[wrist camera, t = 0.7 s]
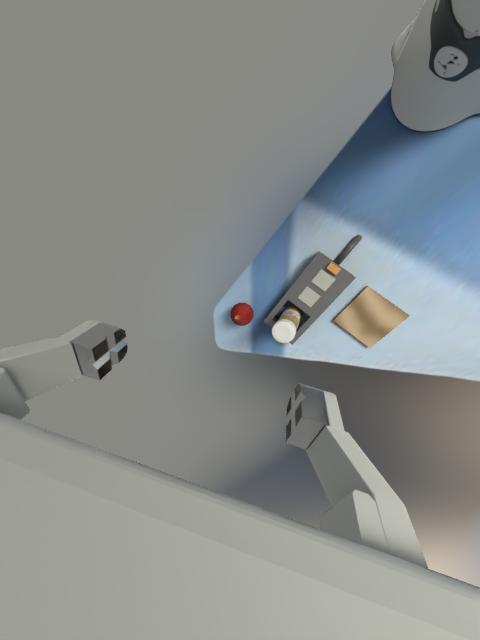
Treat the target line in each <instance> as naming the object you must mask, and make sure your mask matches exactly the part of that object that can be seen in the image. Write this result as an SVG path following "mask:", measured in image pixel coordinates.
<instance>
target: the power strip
mask: <svg viewBox="0 0 480 640" xmlns="http://www.w3.org/2000/svg"><path fill="white" fill-rule="evenodd" d="M361 239H362V237H361V235H357V236H356V237H355V238H354V239H353V240H352V241H351V243H350V244H349V245H348V246H347V247H346V249H345V250H344V251H343V252H342V253H341V254H340V256H339V257H338V258H337V259H336V260H335V261H334V262H333V261H332V260H331V259H329V258H328V257H326V256H325V255H324V254H322V253H321V252H318V253H317V254H316V256H315V257H314V258H313V259H312V261H311V262H310V263H309V265H308V266H307V267H306V268H305V270H304V271H303V272H302V273H301V275H300V276H299V277H298V278H297V280H296V281H295V282H294V284H293V285H292V286H291V287H290V289H289V290H288V291H287V292H286V294H285V295H284V296H283V298H282V299H281V300H280V301H279V303H278V304H277V305H276V306H275V308H274V309H273V310H272V311H271V313H270V314H269V315H268V317H267V318H266V319H265V320H264V323H266V324H267V325H268V326H270V327H271V328H273V326H274V324H275V323H276V322H277V321H278V320H279V319H278V318H277V317H276V316H275V315H276V314H277V313H278V311H279V310H280V309H281V308H282V306H283V305H284V304H285V303H286V302H287V300H289V301H291V302H292V303H293V304H295V305H296V306H297V307H298V308H300V309H301V310H302V311H304V312H305V313H306V314H308V315H309V316H308V317H307V318H306V319H305V320H304V322H303V323H302V324H301V325H300V326H299V327H298V328H297V330H296V334H295V337H294V338H293V340H292V341H290V343H291V344H293V343H294V342H295V341H296V340H297V339H298V338H299V337H300V336H301V335H302V334H303V333H304V332H305V331H306V330H307V329H308V328H309V327H310V325H311V324H312V323H313V322H314V321H315V320H316V319H317V318H318V317H319V316H320V315H321V314H322V313H323V312H324V311H325V310H326V309H327V307H328V306H329V305H330V304H331V303H332V302H333V301H334V300H335V299H336V298H337V297H338V296H339V295H340V294H341V293H342V292H343V291H344V290H345V288H346V287H347V286H348V285H349V284H350V283H351V282H352V281H353V280H354V279H355V278H356V277H355V276H353V275H352V274H350V273H349V272H348V271H346V270H345V269H343V268H342V267H340V266H339V264H340V263H341V262H342V261H343V260H344V259H345V257H346V256H347V255H348V254H349V253H350V252H351V251H352V249H353V248H354V247H355V246H356V245H357V244H358V242H359V241H360V240H361Z"/></svg>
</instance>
